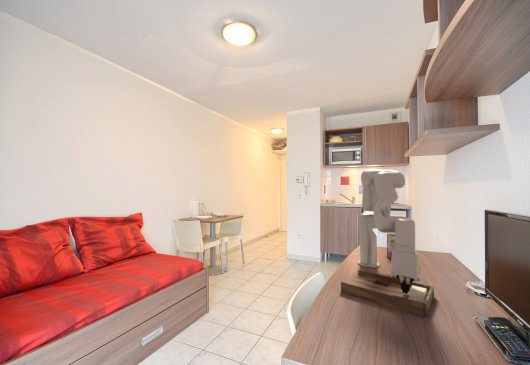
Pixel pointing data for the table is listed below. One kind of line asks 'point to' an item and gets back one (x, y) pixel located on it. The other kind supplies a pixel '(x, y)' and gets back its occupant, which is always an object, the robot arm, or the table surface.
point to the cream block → (418, 293)
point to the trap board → (387, 292)
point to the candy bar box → (390, 241)
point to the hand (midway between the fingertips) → (405, 292)
